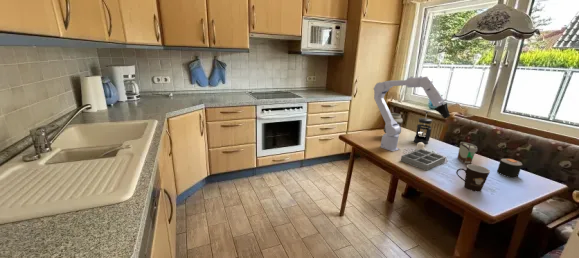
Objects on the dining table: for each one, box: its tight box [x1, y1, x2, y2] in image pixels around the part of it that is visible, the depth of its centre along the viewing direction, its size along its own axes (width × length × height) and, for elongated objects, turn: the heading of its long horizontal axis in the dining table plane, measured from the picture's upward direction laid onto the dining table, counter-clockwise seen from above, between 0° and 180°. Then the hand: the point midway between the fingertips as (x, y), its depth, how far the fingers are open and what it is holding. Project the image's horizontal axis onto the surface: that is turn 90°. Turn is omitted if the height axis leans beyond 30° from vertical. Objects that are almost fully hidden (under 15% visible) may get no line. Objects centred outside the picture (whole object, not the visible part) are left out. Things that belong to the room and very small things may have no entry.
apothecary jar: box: [383, 112, 404, 135], centre depth 180 cm, size 12×12×18 cm
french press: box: [413, 110, 434, 145], centre depth 172 cm, size 12×9×23 cm
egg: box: [415, 142, 426, 151], centre depth 159 cm, size 4×4×6 cm
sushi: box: [496, 158, 523, 178], centre depth 130 cm, size 8×8×8 cm
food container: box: [457, 141, 478, 165], centre depth 144 cm, size 12×6×10 cm, turn 168°
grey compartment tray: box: [400, 149, 447, 171], centre depth 142 cm, size 15×22×3 cm
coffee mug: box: [455, 163, 491, 193], centre depth 114 cm, size 12×9×10 cm
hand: (447, 117), depth 135 cm, fingers open, 7 cm apart
